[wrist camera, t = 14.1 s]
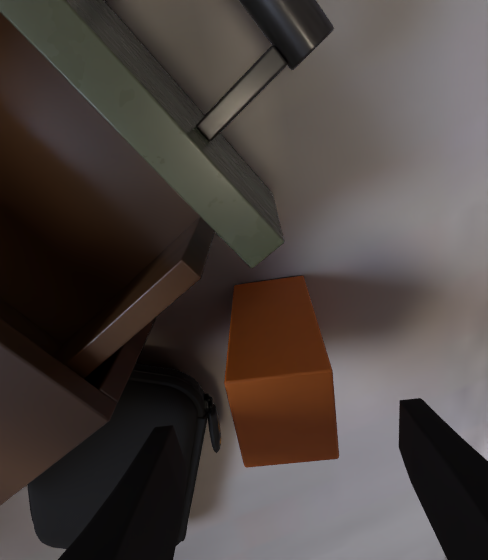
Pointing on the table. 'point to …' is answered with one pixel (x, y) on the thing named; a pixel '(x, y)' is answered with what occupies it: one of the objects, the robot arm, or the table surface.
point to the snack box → (279, 376)
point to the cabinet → (52, 404)
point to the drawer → (120, 172)
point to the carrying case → (123, 452)
